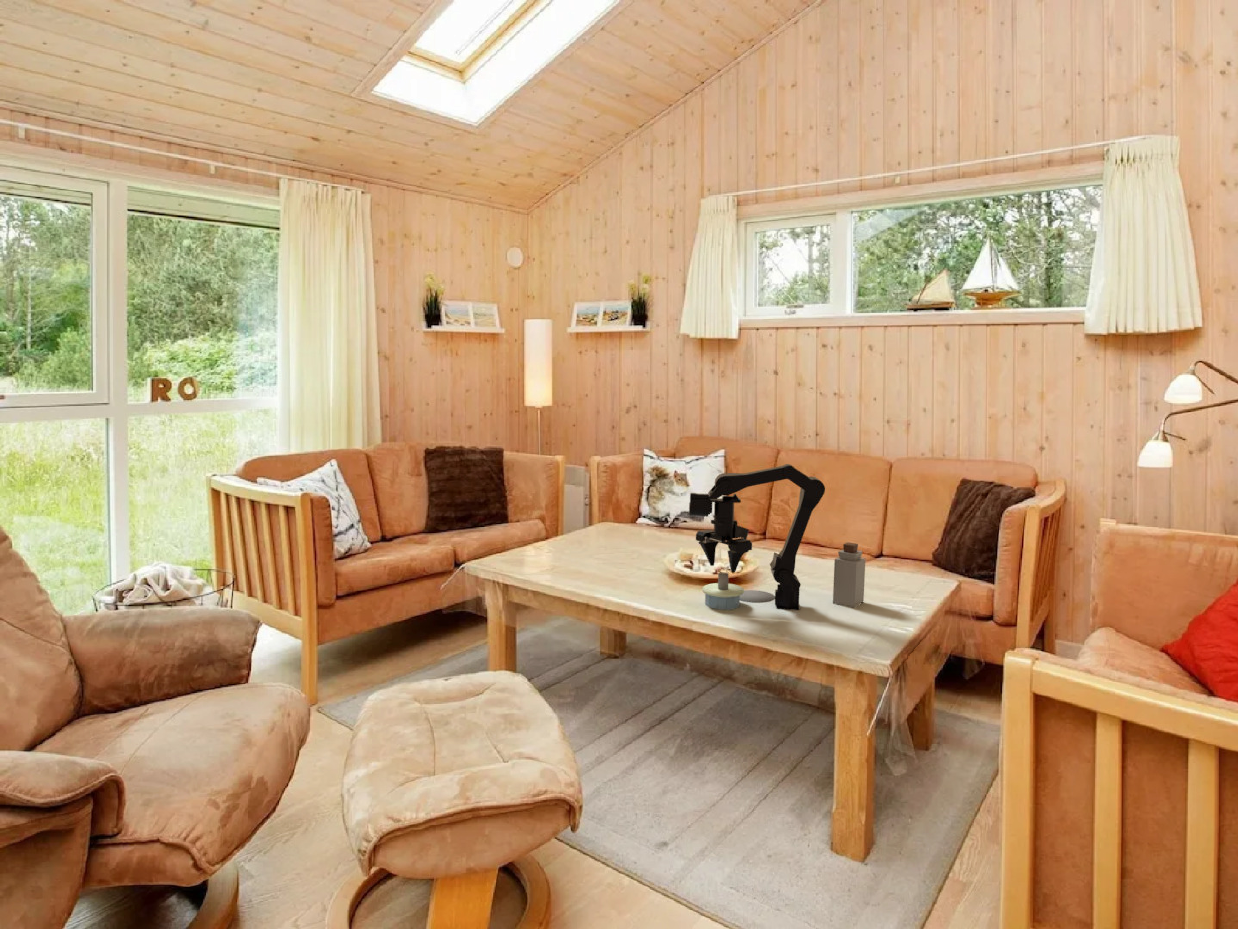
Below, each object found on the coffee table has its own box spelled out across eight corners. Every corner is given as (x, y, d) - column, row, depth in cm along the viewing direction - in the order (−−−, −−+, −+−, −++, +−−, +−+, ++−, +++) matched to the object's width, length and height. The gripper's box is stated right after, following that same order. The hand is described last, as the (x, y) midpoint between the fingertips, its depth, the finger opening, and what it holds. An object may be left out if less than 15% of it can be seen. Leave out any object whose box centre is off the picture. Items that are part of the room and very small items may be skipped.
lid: (744, 586, 232) (744, 569, 232) (743, 598, 220) (743, 580, 220) (704, 584, 234) (704, 567, 234) (701, 596, 223) (701, 578, 222)
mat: (774, 592, 241) (775, 591, 241) (775, 604, 229) (775, 603, 229) (733, 590, 244) (733, 589, 244) (731, 602, 231) (731, 601, 231)
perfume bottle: (842, 598, 236) (844, 540, 233) (863, 602, 231) (866, 543, 229) (832, 603, 231) (835, 544, 228) (854, 607, 226) (857, 547, 224)
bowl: (739, 601, 232) (740, 587, 232) (739, 611, 222) (739, 597, 222) (706, 599, 234) (706, 585, 233) (704, 609, 224) (704, 595, 223)
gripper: (766, 519, 222) (765, 572, 224) (723, 509, 237) (721, 558, 239) (738, 523, 215) (736, 577, 217) (695, 512, 231) (694, 563, 233)
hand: (722, 569), depth 227 cm, fingers open, 9 cm apart
